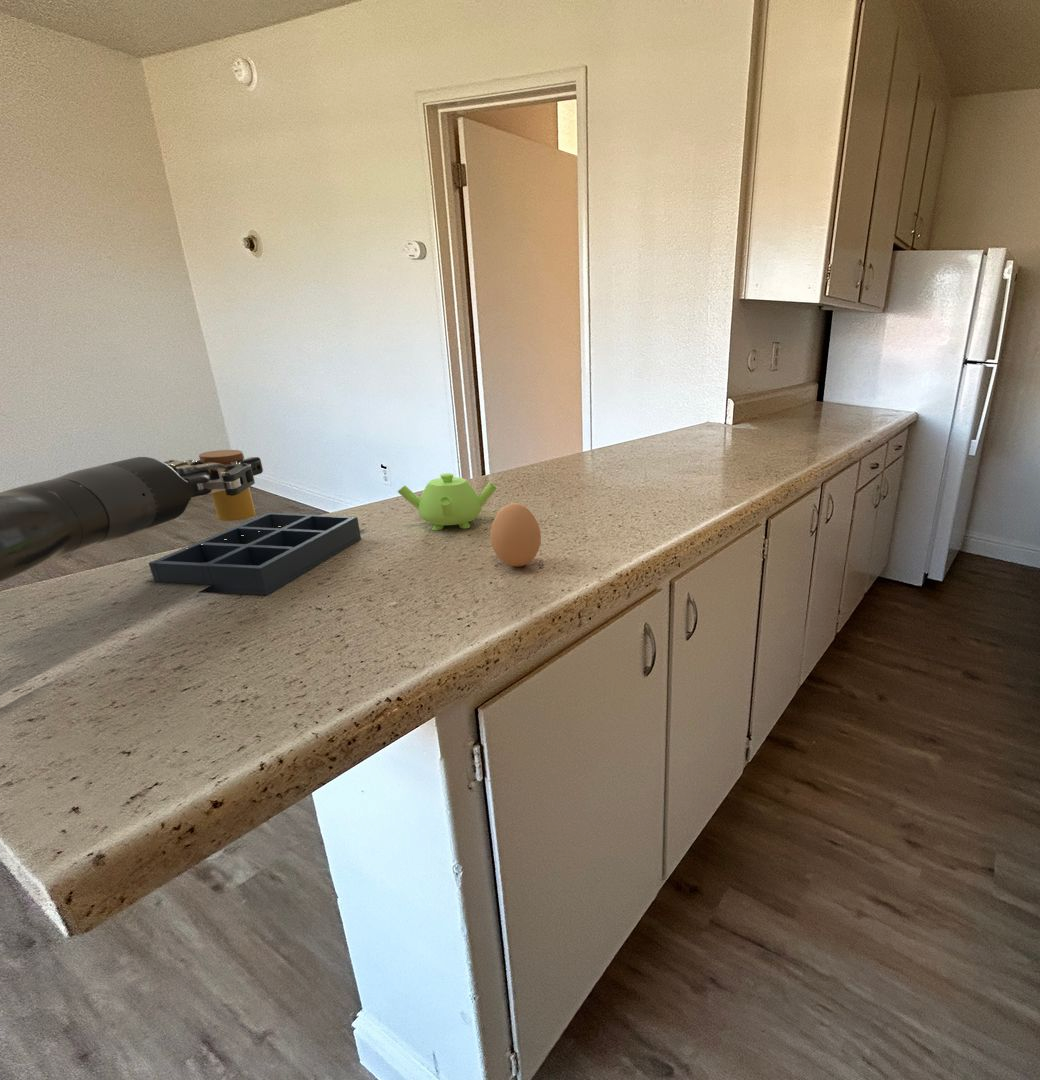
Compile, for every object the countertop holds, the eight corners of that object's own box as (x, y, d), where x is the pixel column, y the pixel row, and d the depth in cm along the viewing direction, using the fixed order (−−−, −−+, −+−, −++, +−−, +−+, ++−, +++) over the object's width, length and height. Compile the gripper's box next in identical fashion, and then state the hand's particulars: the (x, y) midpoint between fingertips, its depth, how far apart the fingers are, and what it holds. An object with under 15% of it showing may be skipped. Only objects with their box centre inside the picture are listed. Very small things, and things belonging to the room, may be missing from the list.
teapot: (457, 508, 106) (451, 462, 103) (504, 520, 101) (500, 472, 98) (400, 526, 96) (392, 475, 93) (449, 540, 92) (442, 487, 89)
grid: (156, 590, 72) (148, 562, 71) (273, 534, 90) (268, 512, 89) (266, 595, 72) (260, 568, 71) (361, 539, 90) (357, 516, 89)
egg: (490, 575, 80) (483, 511, 77) (496, 557, 86) (491, 497, 83) (540, 573, 82) (536, 510, 78) (544, 555, 88) (540, 496, 84)
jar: (206, 520, 77) (189, 456, 74) (233, 510, 81) (217, 449, 78) (240, 522, 77) (224, 457, 74) (265, 512, 81) (251, 450, 78)
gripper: (174, 468, 62) (289, 438, 78) (38, 462, 62) (181, 433, 78) (193, 536, 64) (300, 493, 80) (62, 529, 64) (196, 488, 80)
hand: (241, 463), depth 79 cm, fingers closed on jar, 4 cm apart
